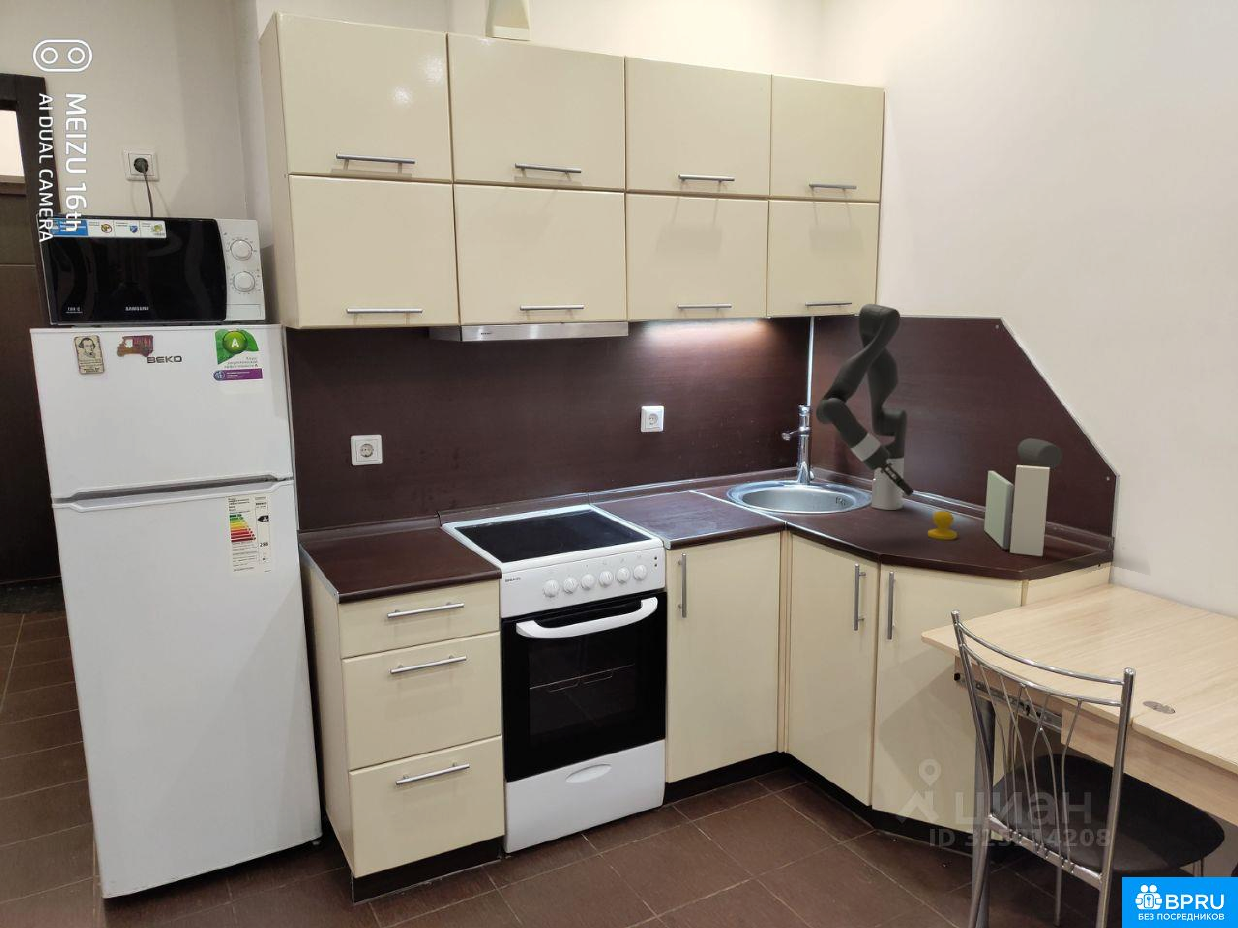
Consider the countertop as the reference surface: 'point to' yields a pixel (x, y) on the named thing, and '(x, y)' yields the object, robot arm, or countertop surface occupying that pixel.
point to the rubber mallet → (1039, 453)
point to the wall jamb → (1029, 510)
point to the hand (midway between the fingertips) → (910, 493)
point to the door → (999, 509)
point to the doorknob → (942, 526)
